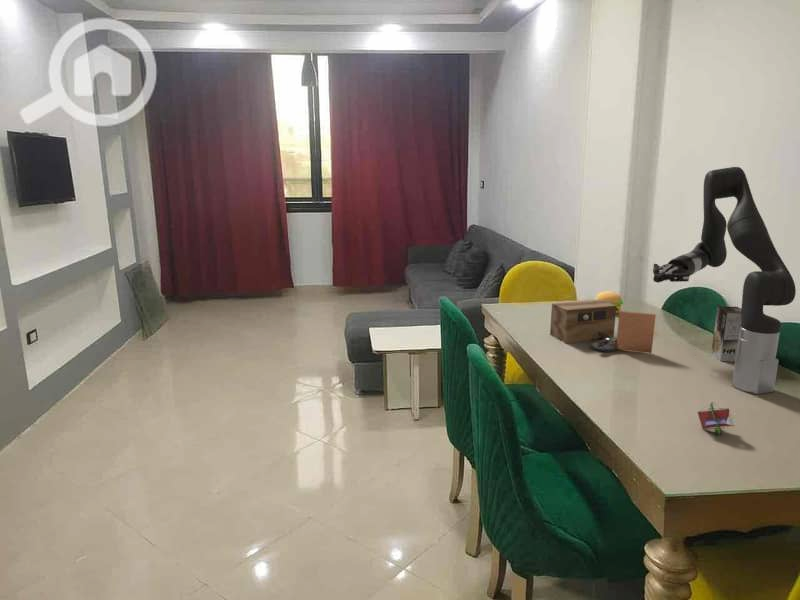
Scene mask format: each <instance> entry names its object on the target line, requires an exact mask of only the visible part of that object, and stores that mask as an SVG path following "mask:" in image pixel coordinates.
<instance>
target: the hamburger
mask: <svg viewBox="0 0 800 600" xmlns="http://www.w3.org/2000/svg"><path fill="white" fill-rule="evenodd" d="M598 299H600V300H602V301H605V302H608V303H610V304H613V305H616V314H619V312H620V311H622V310H621V309H622V305H623V304H624V300H623V299H622V297H621V295H620V294H618V293H617V292H614V291H611V290H606V291H601V292H599V293H598V294H597V295H596V297H595V298H594V299H593V300H598Z"/></svg>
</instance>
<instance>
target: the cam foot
mask: <svg viewBox="0 0 800 600" xmlns="http://www.w3.org/2000/svg"><path fill="white" fill-rule="evenodd" d="M656 316H657V315H656V313H648V312H647V313H646V312H637V311H626V310H621V311H620V312H619V313H618V323H617V325H618V326H617V335H616V337H615V336H614V337H610V336H608V335H607V334H605V333H604V332H602V331H598V336H599V337H601V338H593V339H591V340H589V347H590V348H591V349H593V350H595V351H598V352H604V353H605V352H606V353H607V352H609V353H611V352H615V351H617V350H622V351H631V352H632V351H633V352H639V353H648V354H652V351H653V343H654V333H655V326H656V325H655V323H656Z"/></svg>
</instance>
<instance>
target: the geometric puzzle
mask: <svg viewBox="0 0 800 600" xmlns="http://www.w3.org/2000/svg"><path fill="white" fill-rule="evenodd" d="M713 404H714V405H715V406H716V407H718V404H715V402H713V401H712V402H710V404H709V408H708V409H707V410H703V409H704V408H705V407H706V406H705V407H703V408H701V409H700V410H699V411H697V415H698V418H699V422H700V425H701V428H702V430H706V429H707V431H708V432H709V430H712V429H716V430H717V433H718V434H717V433H715V432H714V431H713V430H712V433H715V435H718V436H719V437H720V436H721V432H722V431H723V429H724V428H725V429H726V427H727V428H731V427H734V426H735V415H734V414H733V413H732V411H731V409H730V408H721V407H722V405H721V404H720V405H719V406H721V407H719V409H715V406H714V405H713ZM708 429H709V430H708Z"/></svg>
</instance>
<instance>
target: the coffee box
mask: <svg viewBox="0 0 800 600" xmlns="http://www.w3.org/2000/svg"><path fill="white" fill-rule="evenodd" d="M714 322H715V323H714V327H713V328H714V330H713V338H712V346H711V353H712V355H714V356H715V357H716V358H717V359H718V360H719V361H721V362H733V363H735V360H736V353H737V346H738V340H739V333H740V327H741V308H740V307H739V306H720V305H719V306H717V307H716V314H715V321H714Z"/></svg>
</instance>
